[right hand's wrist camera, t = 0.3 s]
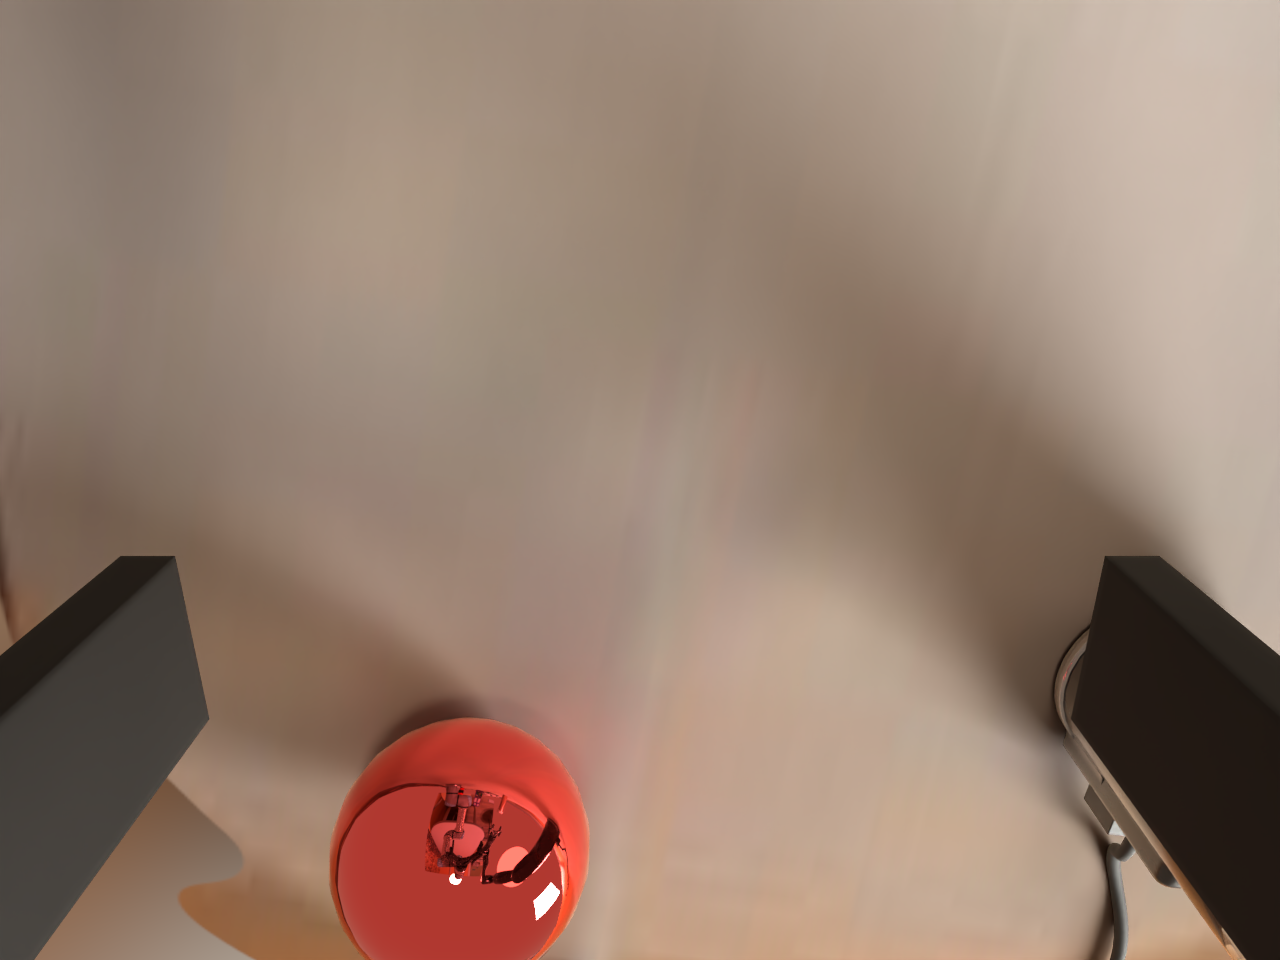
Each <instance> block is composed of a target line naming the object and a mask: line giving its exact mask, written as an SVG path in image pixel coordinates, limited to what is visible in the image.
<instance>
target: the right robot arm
mask: <svg viewBox="0 0 1280 960" xmlns="http://www.w3.org/2000/svg"><path fill="white" fill-rule="evenodd" d="M208 720H209V715H208V711H207V706H206V701H205V696H204V692H203V687H202V682H201V677H200V673H199V668H198V663H197V658H196V654H195V649H194V644H193V640H192V635H191V630H190V625H189V621H188V616H187V611H186V606H185V602H184V597H183V592H182V587H181V583H180V578H179V573H178V569H177V564H176V559H175V556H120V557H119V558H118V559H117V560H115V561H114V562H113V563H112V564H111V565H109V566H108V567H107V568H106V569H105V570H103V571H102V572H101V573H100V574H98V575H97V576H96V577H95V578H94V579H92V580H91V581H90V582H89V583H88V584H86V585H85V586H84V587H83V588H82V589H80V590H79V591H78V592H77V593H76V594H74V595H73V596H72V597H71V598H69V599H68V600H67V601H66V602H65V603H63V604H62V605H61V606H60V607H59V608H57V609H56V610H55V611H54V612H53V613H51V614H50V615H49V616H48V617H46V618H45V619H44V620H43V621H42V622H40V623H39V624H38V625H37V626H36V627H34V628H33V629H32V630H31V631H30V632H28V633H27V634H26V635H25V636H23V637H22V638H21V639H20V640H19V641H17V642H16V643H15V644H14V645H13V646H11V647H10V648H9V649H8V650H7V651H5V652H4V653H3V654H2V655H1V656H0V960H34V959H35V958H36V956H37V955H38V954H39V952H40V951H41V950H42V948H43V947H44V945H45V944H46V943H47V941H48V940H49V939H50V937H51V936H52V934H53V933H54V932H55V930H56V929H57V928H58V926H59V925H60V923H61V922H62V921H63V919H64V918H65V917H66V915H67V914H68V912H69V911H70V910H71V908H72V907H73V906H74V904H75V903H76V901H77V900H78V899H79V897H80V896H81V895H82V893H83V892H84V890H85V889H86V888H87V886H88V885H89V884H90V882H91V881H92V879H93V878H94V877H95V875H96V874H97V873H98V871H99V870H100V868H101V867H102V866H103V864H104V863H105V862H106V860H107V859H108V857H109V856H110V855H111V853H112V852H113V851H114V849H115V848H116V846H117V845H118V844H119V842H120V841H121V840H122V838H123V837H124V835H125V834H126V833H127V831H128V830H129V829H130V827H131V826H132V824H133V823H134V822H135V820H136V819H137V818H138V816H139V815H140V813H141V812H142V811H143V809H144V808H145V807H146V805H147V804H148V802H149V801H150V800H151V798H152V797H153V796H154V794H155V793H156V791H157V790H158V789H159V787H160V786H161V785H162V783H163V782H164V781H165V779H166V778H167V776H168V775H169V774H170V772H171V771H172V770H173V768H174V767H175V765H176V764H177V763H178V761H179V760H180V759H181V757H182V756H183V754H184V753H185V752H186V750H187V749H188V748H189V746H190V745H191V743H192V742H193V741H194V739H195V738H196V737H197V735H198V734H199V732H200V731H201V730H202V728H203V727H204V726H205V724H206V723H207V721H208ZM1071 720H1072V721H1073V723H1074V724H1075V726H1076V727H1077V728H1078V730H1079V731H1080V732H1081V734H1082V735H1083V737H1084V738H1085V739H1086V741H1087V742H1088V743H1089V745H1090V746H1091V748H1092V749H1093V750H1094V752H1095V753H1096V754H1097V756H1098V757H1099V759H1100V760H1101V761H1102V763H1103V764H1104V765H1105V767H1106V768H1107V770H1108V771H1109V772H1110V774H1111V775H1112V776H1113V778H1114V779H1115V781H1116V782H1117V783H1118V785H1119V786H1120V787H1121V789H1122V790H1123V792H1124V793H1125V794H1126V796H1127V797H1128V798H1129V800H1130V801H1131V802H1132V804H1133V805H1134V807H1135V808H1136V809H1137V811H1138V812H1139V813H1140V815H1141V816H1142V818H1143V819H1144V820H1145V822H1146V823H1147V824H1148V826H1149V827H1150V829H1151V830H1152V831H1153V833H1154V834H1155V835H1156V837H1157V838H1158V840H1159V841H1160V842H1161V844H1162V845H1163V846H1164V848H1165V849H1166V851H1167V852H1168V853H1169V855H1170V856H1171V857H1172V859H1173V860H1174V862H1175V863H1176V864H1177V866H1178V867H1179V868H1180V870H1181V871H1182V873H1183V874H1184V875H1185V877H1186V878H1187V879H1188V881H1189V882H1190V884H1191V885H1192V886H1193V888H1194V889H1195V890H1196V892H1197V893H1198V895H1199V896H1200V897H1201V899H1202V900H1203V901H1204V903H1205V904H1206V906H1207V907H1208V908H1209V910H1210V911H1211V912H1212V914H1213V915H1214V917H1215V918H1216V919H1217V921H1218V922H1219V923H1220V925H1221V926H1222V928H1223V929H1224V930H1225V932H1226V933H1227V934H1228V936H1229V937H1230V939H1231V940H1232V941H1233V943H1234V944H1235V945H1236V947H1237V948H1238V950H1239V951H1240V952H1241V954H1242V955H1243V956H1244V958H1245V959H1246V960H1280V656H1279V655H1278V654H1277V653H1276V652H1275V651H1273V650H1272V649H1271V648H1270V647H1269V646H1267V645H1266V644H1265V643H1264V642H1263V641H1261V640H1260V639H1259V638H1258V637H1257V636H1255V635H1254V634H1253V633H1252V632H1250V631H1249V630H1248V629H1247V628H1246V627H1244V626H1243V625H1242V624H1241V623H1240V622H1238V621H1237V620H1236V619H1235V618H1234V617H1232V616H1231V615H1230V614H1229V613H1227V612H1226V611H1225V610H1224V609H1223V608H1221V607H1220V606H1219V605H1218V604H1217V603H1215V602H1214V601H1213V600H1212V599H1211V598H1209V597H1208V596H1207V595H1206V594H1204V593H1203V592H1202V591H1201V590H1200V589H1198V588H1197V587H1196V586H1195V585H1194V584H1192V583H1191V582H1190V581H1189V580H1188V579H1186V578H1185V577H1184V576H1183V575H1182V574H1180V573H1179V572H1178V571H1177V570H1175V569H1174V568H1173V567H1172V566H1171V565H1169V564H1168V563H1167V562H1166V561H1165V560H1163V559H1162V558H1161V557H1160V556H1105V559H1104V564H1103V569H1102V573H1101V578H1100V583H1099V587H1098V592H1097V597H1096V602H1095V606H1094V611H1093V616H1092V621H1091V625H1090V630H1089V635H1088V640H1087V644H1086V649H1085V654H1084V658H1083V663H1082V668H1081V673H1080V677H1079V682H1078V687H1077V692H1076V696H1075V701H1074V706H1073V711H1072V715H1071Z"/></svg>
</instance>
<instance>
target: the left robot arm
mask: <svg viewBox="0 0 1280 960" xmlns="http://www.w3.org/2000/svg"><path fill="white" fill-rule="evenodd" d="M1089 630H1090V628H1089V629H1088V630H1087V631H1086V632H1085V633H1084V634H1083V635H1082V636H1081V637H1080V638H1079V639H1078V640H1077V641H1076V642H1075V643H1074V645H1073V646H1072V647H1071V648H1070V650H1069V651H1068V653H1067V654H1066V656H1065V658H1064V660H1063V661H1062V663H1061V666H1060V668H1059V671H1058V674H1057V677H1056V682H1055V691H1054V696H1055V705H1056V709H1057V713H1058V715H1059V718H1060V720H1061V722H1062V723H1063V725H1064V727H1065V728H1066V729H1067V730H1066V736H1065V738H1064V741H1063V746H1064V747H1065V749H1066V750H1067V751H1068V753H1069V754H1070V756H1071V757H1072V759H1073V760H1074V762H1075V763H1076V765H1077V766H1078V768H1079V769H1080V770H1081V772H1082V773H1083V775H1084V776H1085V778H1086V779H1087V781H1088V782H1089V787H1088V789H1087V792H1086V794H1085V797H1084V799H1085V801H1086V802H1087V804H1088V805H1089V807H1090V808H1091V810H1092V811H1093V813H1094V814H1095V816H1096V817H1097V819H1098V820H1099V822H1100V823H1101V825H1102V826H1103V828H1104V829H1105V831H1106V832H1107V834H1109V835H1118V836H1126V837H1125V838H1124V840H1123V842H1122V843H1121V845H1120V844H1117V843H1112V844H1110V845H1109V847H1108V850H1107V855H1106V866H1107V873H1108V879H1109V885H1110V893H1111V900H1112V907H1113V916H1114V942H1113V949H1112V954H1111V958H1110V960H1125V957H1126V953H1127V945H1128V917H1127V908H1126V901H1125V894H1124V888H1123V882H1122V875H1121V861H1127V860H1128V859H1130V858H1131V857H1132V856H1133V855H1134V854H1135V852H1137V854H1138V855H1139V857H1140V858H1141V860H1142V861H1143V863H1144V864H1145V865H1146V867H1147V868H1148V870H1149V871H1150V873H1151V874H1152V876H1153V877H1154V878H1155V880H1156V881H1157V882H1159V883H1160V884H1162V885H1164V886H1166V887H1171V888H1181V889H1183V890H1184V892H1185V893H1186V895H1187V896H1188V898H1189V899H1190V900H1191V902H1192V903H1193V905H1194V906H1195V907H1196V909H1197V910H1198V912H1199V913H1200V914H1201V916H1202V917H1203V919H1204V920H1205V921H1206V923H1207V924H1208V926H1209V927H1210V928H1211V930H1212V931H1213V933H1214V934H1215V935H1216V937H1217V938H1218V940H1219V941H1220V942H1221V944H1222V945H1223V947H1224V948H1225V950H1226V951H1227V952H1228V954H1229V955H1230V957H1231V958H1232V959H1233V960H1246V959H1245V958H1244V956H1243V955H1242V954H1241V952H1240V951H1239V950H1238V948H1237V947H1236V945H1235V944H1234V943H1233V941H1232V940H1231V939H1230V937H1229V936H1228V934H1227V933H1226V932H1225V930H1224V929H1223V928H1222V926H1221V925H1220V923H1219V922H1218V921H1217V919H1216V918H1215V917H1214V915H1213V914H1212V912H1211V911H1210V910H1209V908H1208V907H1207V906H1206V904H1205V903H1204V901H1203V900H1202V899H1201V897H1200V896H1199V895H1198V893H1197V892H1196V890H1195V889H1194V888H1193V886H1192V885H1191V884H1190V882H1189V881H1188V879H1187V878H1186V877H1185V875H1184V874H1183V873H1182V871H1181V870H1180V868H1179V867H1178V866H1177V864H1176V863H1175V862H1174V860H1173V859H1172V857H1171V856H1170V855H1169V853H1168V852H1167V851H1166V849H1165V848H1164V846H1163V845H1162V844H1161V842H1160V841H1159V840H1158V838H1157V837H1156V835H1155V834H1154V833H1153V831H1152V830H1151V829H1150V827H1149V826H1148V824H1147V823H1146V822H1145V820H1144V819H1143V818H1142V816H1141V815H1140V813H1139V812H1138V811H1137V809H1136V808H1135V807H1134V805H1133V804H1132V802H1131V801H1130V800H1129V798H1128V797H1127V796H1126V794H1125V793H1124V792H1123V790H1122V789H1121V787H1120V786H1119V785H1118V783H1117V782H1116V781H1115V779H1114V778H1113V776H1112V775H1111V774H1110V772H1109V771H1108V770H1107V768H1106V767H1105V765H1104V764H1103V763H1102V761H1101V760H1100V759H1099V757H1098V756H1097V754H1096V753H1095V752H1094V750H1093V749H1092V748H1091V746H1090V745H1089V743H1088V742H1087V741H1086V739H1085V738H1084V737H1083V735H1082V734H1081V732H1080V731H1079V730H1078V728H1077V727H1076V726H1075V724H1074V723H1073V721H1072V720H1071V715H1072V711H1073V706H1074V701H1075V696H1076V692H1077V687H1078V682H1079V677H1080V673H1081V668H1082V663H1083V658H1084V654H1085V649H1086V644H1087V640H1088V635H1089Z"/></svg>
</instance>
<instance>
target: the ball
mask: <svg viewBox="0 0 1280 960" xmlns="http://www.w3.org/2000/svg"><path fill="white" fill-rule="evenodd" d="M588 869H589V823H588V818H587V815H586V812H585V808H584V805H583V802H582V799H581V796H580V792H579V789H578V787H577V785H576V783H575V781H574V780H573V778H572V777H571V775H570V774H569V772H568V771H567V769H566V768H565V766H564V765H563V763H562V762H561V760H560V759H559V758H558V757H557V756H556V755H555V754H554V753H553V752H552V751H551V750H550V749H549V748H548V747H546V746H545V745H544V744H543V743H542V742H541V741H540V740H538V739H537V738H536V737H534V736H532V735H530V734H528V733H526V732H525V731H523V730H521V729H519V728H517V727H515V726H513V725H510V724H506V723H503V722H499V721H496V720H492V719H484V718H471V717H463V718H456V719H449V720H441V721H437V722H434V723H431V724H429V725H426V726H424V727H421V728H418V729H416V730H413V731H410V732H408V733H407V734H405V735H404V736H402V737H401V738H399V739H398V740H396V741H395V742H394V743H392V744H391V745H389V746H388V747H386V748H385V749H384V750H382V751H381V752H380V753H378V754H377V755H376V756H375V757H374V759H373V760H372V761H371V762H370V763H369V765H368V766H367V767H366V768H365V770H364V771H363V772H362V773H361V775H360V776H359V777H358V778H357V780H356V781H355V782H354V783H353V785H352V786H351V788H350V789H349V791H348V793H347V795H346V797H345V800H344V802H343V805H342V808H341V810H340V813H339V815H338V818H337V821H336V823H335V826H334V829H333V832H332V836H331V842H330V861H329V885H330V890H331V895H332V898H333V902H334V905H335V908H336V912H337V915H338V918H339V921H340V924H341V926H342V928H343V930H344V932H345V933H346V935H347V936H348V938H349V939H350V941H351V942H352V944H353V945H354V947H355V948H356V950H357V951H358V952H359V954H360V955H361V956H362V957H363V958H364V959H365V960H539V959H540V958H541V957H543V956H544V955H545V954H546V953H547V952H548V951H549V950H550V948H551V947H552V946H553V944H554V943H555V942H556V940H557V939H558V937H559V936H560V935H561V933H562V932H563V931H564V929H565V928H566V927H567V925H568V924H569V922H570V921H571V919H572V917H573V915H574V913H575V911H576V908H577V905H578V902H579V899H580V897H581V894H582V891H583V888H584V885H585V882H586V879H587V874H588Z"/></svg>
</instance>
